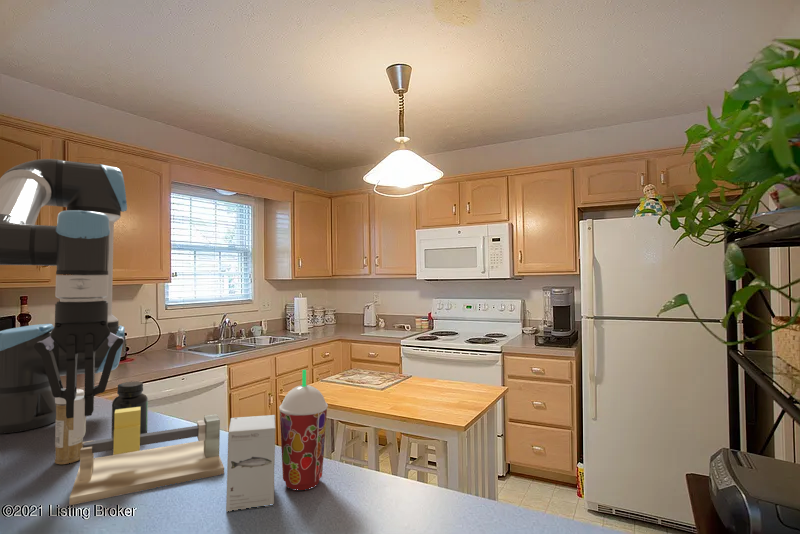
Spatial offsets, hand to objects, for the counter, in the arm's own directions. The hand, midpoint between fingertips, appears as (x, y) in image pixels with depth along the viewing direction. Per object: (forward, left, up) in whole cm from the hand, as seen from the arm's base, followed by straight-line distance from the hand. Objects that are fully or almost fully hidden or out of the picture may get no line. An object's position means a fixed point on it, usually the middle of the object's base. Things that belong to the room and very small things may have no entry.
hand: (79, 435), depth 78 cm
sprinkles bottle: (-13, -3, -9) cm, 16 cm away
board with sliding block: (0, +11, -9) cm, 14 cm away
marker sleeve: (0, +7, -4) cm, 8 cm away
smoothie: (+18, +34, -9) cm, 40 cm away
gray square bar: (0, +11, -3) cm, 12 cm away
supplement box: (+19, +25, -9) cm, 33 cm away
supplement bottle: (-21, +7, -9) cm, 23 cm away
